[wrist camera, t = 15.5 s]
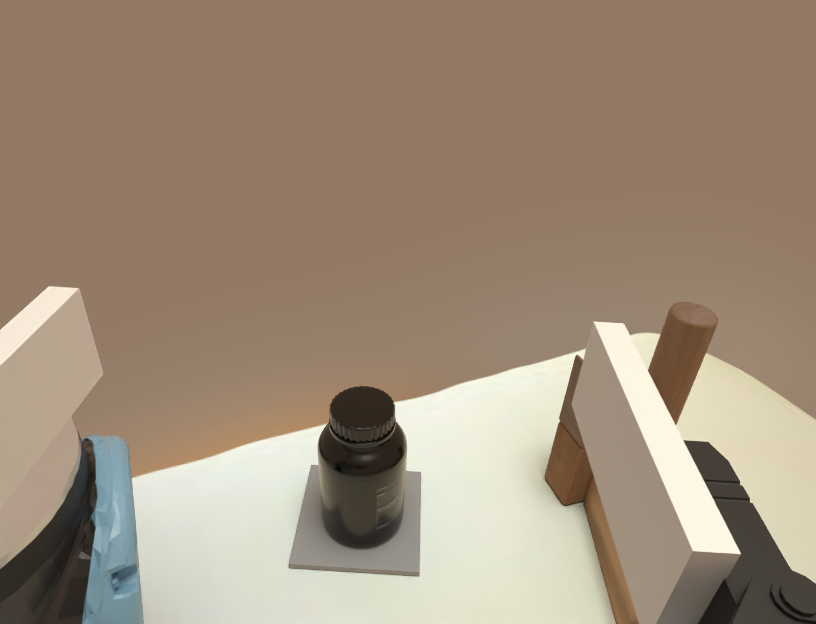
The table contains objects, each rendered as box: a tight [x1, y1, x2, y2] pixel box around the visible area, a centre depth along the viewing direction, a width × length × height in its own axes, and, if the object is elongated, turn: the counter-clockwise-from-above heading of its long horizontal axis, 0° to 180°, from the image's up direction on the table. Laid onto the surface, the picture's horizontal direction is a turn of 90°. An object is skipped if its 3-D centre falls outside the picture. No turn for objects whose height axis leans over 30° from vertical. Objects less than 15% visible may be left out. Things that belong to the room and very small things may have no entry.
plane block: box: [584, 475, 639, 624], centre depth 44 cm, size 6×12×8 cm, turn 178°
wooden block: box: [545, 302, 718, 505], centre depth 49 cm, size 4×11×18 cm, turn 108°
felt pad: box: [289, 465, 421, 576], centre depth 49 cm, size 10×10×1 cm
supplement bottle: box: [318, 386, 407, 547], centre depth 45 cm, size 7×7×12 cm
